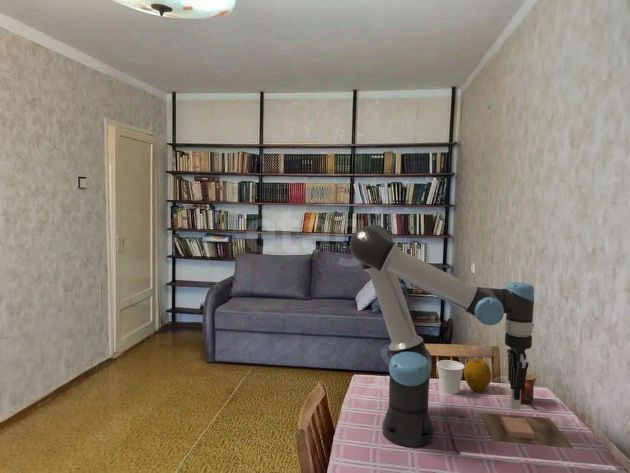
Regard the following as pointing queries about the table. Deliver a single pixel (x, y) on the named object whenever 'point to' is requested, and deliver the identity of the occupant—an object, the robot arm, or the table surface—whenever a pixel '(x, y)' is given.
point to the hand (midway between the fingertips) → (514, 408)
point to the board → (541, 427)
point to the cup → (450, 376)
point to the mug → (528, 389)
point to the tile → (517, 427)
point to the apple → (477, 374)
